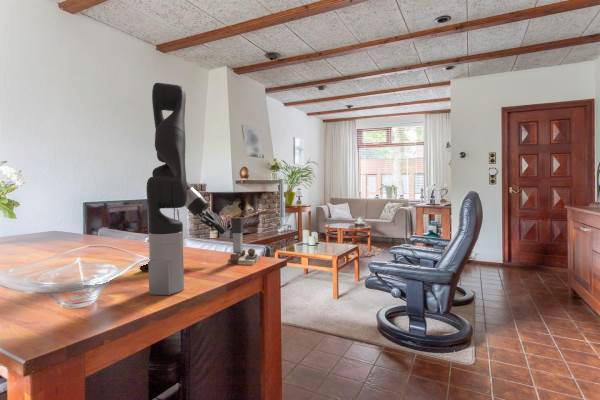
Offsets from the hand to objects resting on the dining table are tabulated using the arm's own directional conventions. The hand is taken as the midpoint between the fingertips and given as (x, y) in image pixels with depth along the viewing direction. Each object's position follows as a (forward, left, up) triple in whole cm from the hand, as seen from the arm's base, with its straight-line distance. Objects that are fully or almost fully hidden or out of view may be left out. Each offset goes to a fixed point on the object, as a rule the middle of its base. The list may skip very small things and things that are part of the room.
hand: (224, 232), depth 137 cm
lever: (0, -6, -9) cm, 11 cm away
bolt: (-14, +20, -12) cm, 27 cm away
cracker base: (0, -8, -11) cm, 14 cm away
